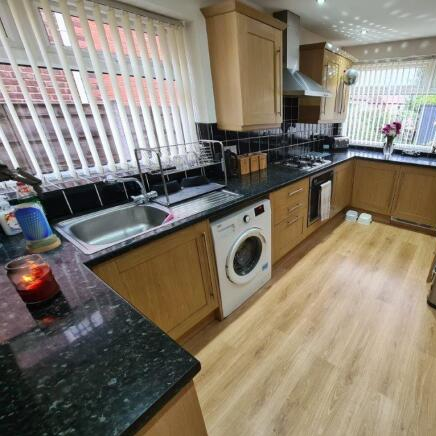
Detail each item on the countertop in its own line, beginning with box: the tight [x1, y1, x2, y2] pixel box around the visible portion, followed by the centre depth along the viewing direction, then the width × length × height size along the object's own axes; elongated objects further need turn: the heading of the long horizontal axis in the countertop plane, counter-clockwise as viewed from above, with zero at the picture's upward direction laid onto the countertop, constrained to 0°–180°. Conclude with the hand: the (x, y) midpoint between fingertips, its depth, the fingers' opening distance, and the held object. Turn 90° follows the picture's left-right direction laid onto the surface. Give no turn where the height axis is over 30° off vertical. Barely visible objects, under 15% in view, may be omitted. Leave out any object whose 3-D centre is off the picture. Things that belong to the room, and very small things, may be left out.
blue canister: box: [12, 201, 54, 243], centre depth 104 cm, size 8×8×16 cm
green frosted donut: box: [25, 233, 62, 254], centre depth 108 cm, size 11×11×4 cm
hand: (22, 202), depth 101 cm, fingers open, 13 cm apart
